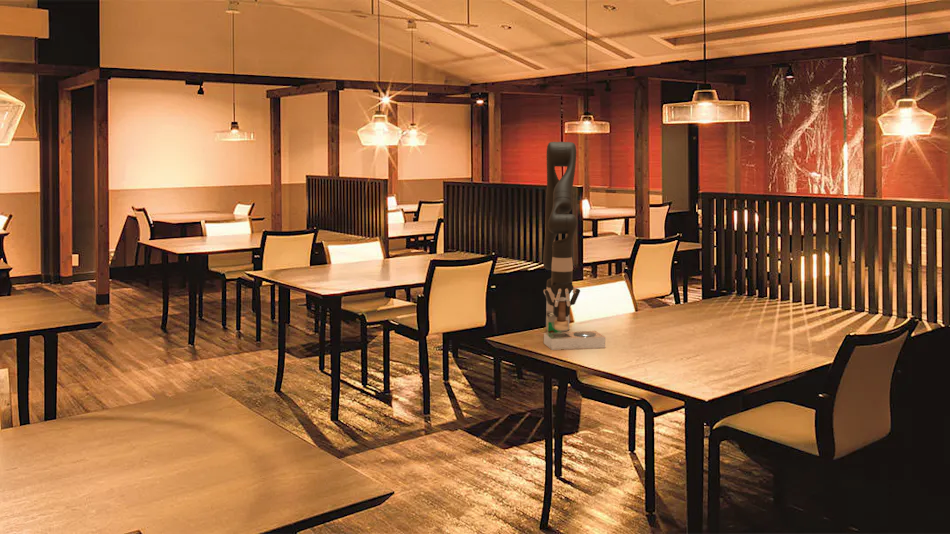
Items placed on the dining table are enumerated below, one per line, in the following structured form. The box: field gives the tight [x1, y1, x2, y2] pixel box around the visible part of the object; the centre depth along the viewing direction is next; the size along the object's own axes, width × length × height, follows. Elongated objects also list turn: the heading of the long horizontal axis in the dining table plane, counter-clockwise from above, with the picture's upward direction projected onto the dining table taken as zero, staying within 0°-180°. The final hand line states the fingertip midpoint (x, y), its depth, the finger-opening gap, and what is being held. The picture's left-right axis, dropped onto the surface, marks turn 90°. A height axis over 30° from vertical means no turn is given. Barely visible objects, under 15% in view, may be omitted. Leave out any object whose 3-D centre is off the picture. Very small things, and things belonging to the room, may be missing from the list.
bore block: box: [543, 330, 606, 351], centre depth 315 cm, size 11×20×4 cm, turn 100°
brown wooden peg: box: [554, 301, 569, 331], centre depth 313 cm, size 5×5×10 cm
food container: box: [545, 311, 561, 333], centre depth 325 cm, size 12×6×10 cm, turn 179°
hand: (561, 316), depth 313 cm, fingers closed on brown wooden peg, 3 cm apart
